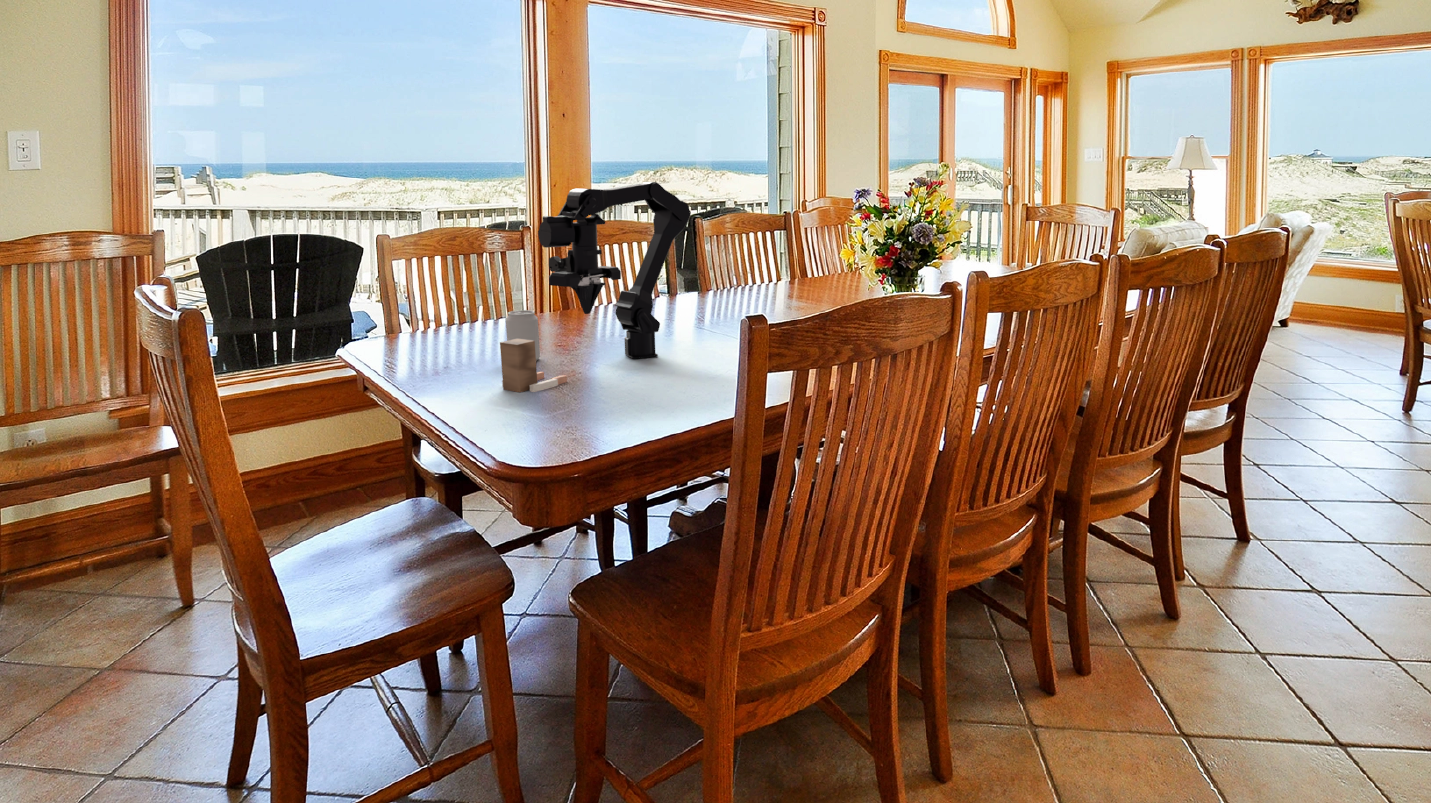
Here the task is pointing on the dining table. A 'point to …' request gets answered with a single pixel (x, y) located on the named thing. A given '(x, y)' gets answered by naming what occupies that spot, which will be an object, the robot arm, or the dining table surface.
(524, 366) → the block
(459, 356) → the dining table surface
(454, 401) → the dining table surface
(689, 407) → the dining table surface
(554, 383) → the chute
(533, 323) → the can
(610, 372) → the dining table surface
